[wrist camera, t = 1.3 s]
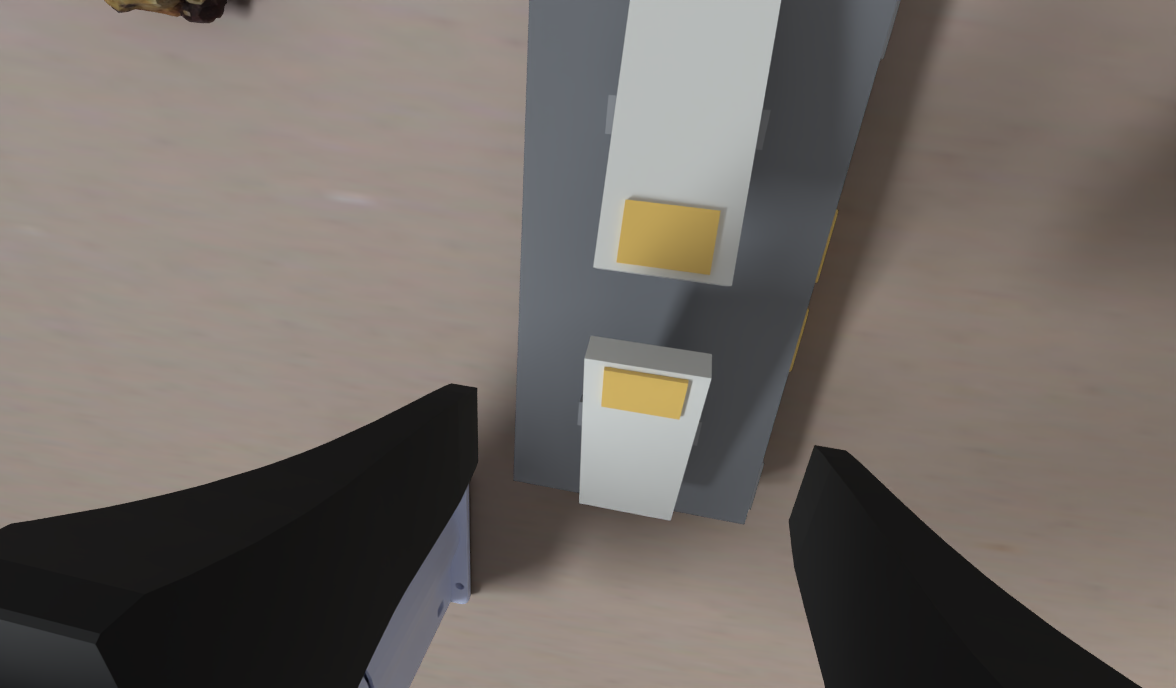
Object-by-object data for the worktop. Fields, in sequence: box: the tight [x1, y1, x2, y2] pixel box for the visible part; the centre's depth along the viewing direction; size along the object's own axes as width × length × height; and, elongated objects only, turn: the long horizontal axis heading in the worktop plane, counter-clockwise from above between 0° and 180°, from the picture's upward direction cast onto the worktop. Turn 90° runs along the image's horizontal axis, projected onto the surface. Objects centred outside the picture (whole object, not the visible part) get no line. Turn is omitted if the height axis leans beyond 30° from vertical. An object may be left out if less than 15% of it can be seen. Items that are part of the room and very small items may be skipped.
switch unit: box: [514, 0, 901, 524], centre depth 18 cm, size 20×10×4 cm, turn 175°
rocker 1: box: [593, 0, 781, 286], centre depth 13 cm, size 8×4×1 cm, turn 175°
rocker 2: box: [579, 336, 712, 521], centre depth 17 cm, size 8×4×1 cm, turn 175°
